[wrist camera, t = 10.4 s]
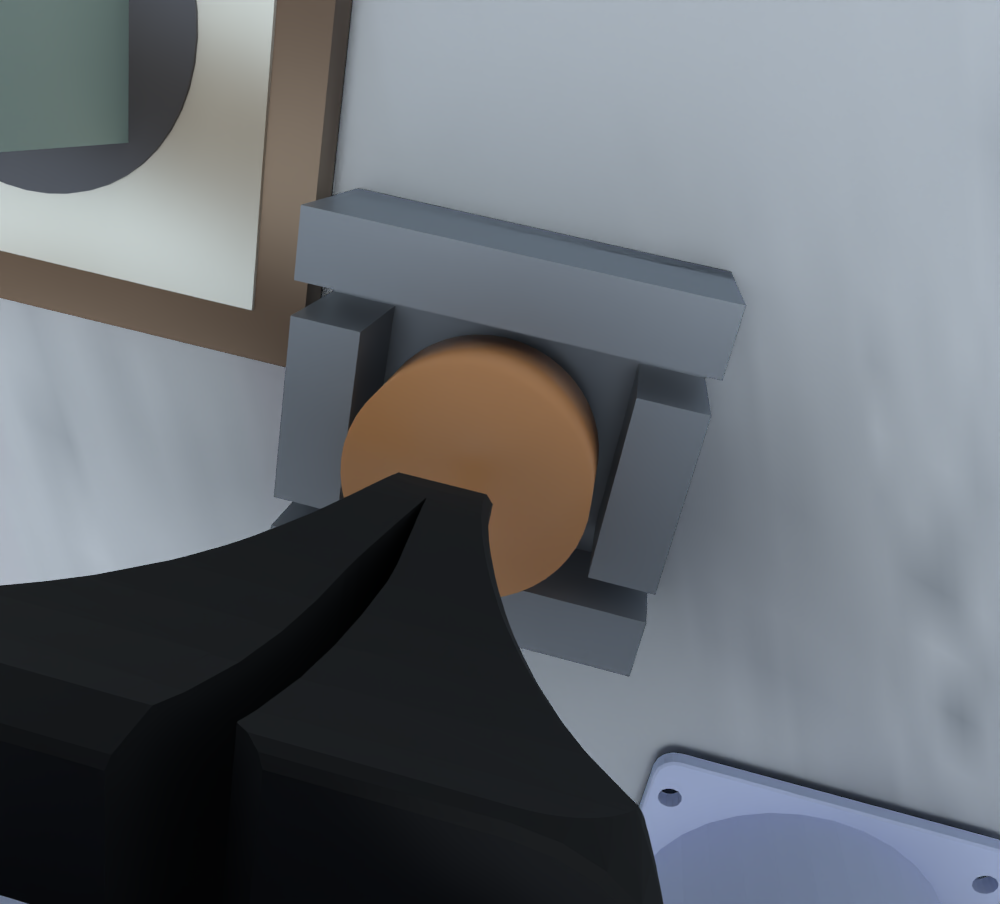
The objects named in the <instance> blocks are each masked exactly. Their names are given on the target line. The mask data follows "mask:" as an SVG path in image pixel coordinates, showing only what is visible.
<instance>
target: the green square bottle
mask: <svg viewBox="0 0 1000 904" xmlns="http://www.w3.org/2000/svg"><path fill="white" fill-rule="evenodd" d="M128 84H129V0H0V152H10V151H24V150H37V149H51V148H64V147H78V146H91V145H105V144H118V143H128Z"/></svg>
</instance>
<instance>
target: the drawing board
mask: <svg viewBox="0 0 1000 904" xmlns="http://www.w3.org/2000/svg"><path fill="white" fill-rule="evenodd" d="M351 7H352V0H129V84H128V143H118V144H105V145H91V146H78V147H64V148H51V149H37V150H24V151H10V152H0V298H3V299H7V300H11V301H16V302H20V303H24V304H28V305H32V306H36V307H40V308H44V309H48V310H52V311H57V312H61V313H65V314H69V315H73V316H77V317H81V318H85V319H89V320H94V321H98V322H102V323H106V324H110V325H114V326H118V327H122V328H126V329H131V330H135V331H139V332H143V333H147V334H151V335H155V336H159V337H163V338H167V339H172V340H176V341H180V342H184V343H188V344H192V345H196V346H200V347H204V348H209V349H213V350H217V351H221V352H225V353H229V354H233V355H237V356H241V357H246V358H250V359H254V360H258V361H262V362H266V363H270V364H274V365H278V366H282V367H286V361H287V350H288V339H289V328H290V317H291V315H293V314H294V313H296V312H298V311H300V310H301V309H303V308H305V307H307V306H308V305H310V304H312V303H313V302H315V301H317V300H319V299H320V298H321V289H322V286H317V285H313V284H309V283H305V282H300V281H296V280H294V274H295V263H296V253H297V242H298V231H299V220H300V209H301V205H302V204H305V203H309V202H312V201H316V200H319V199H323V198H326V197H330V196H331V195H332V185H333V176H334V167H335V157H336V148H337V138H338V129H339V120H340V110H341V101H342V91H343V82H344V72H345V63H346V54H347V44H348V35H349V25H350V16H351Z"/></svg>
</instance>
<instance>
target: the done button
mask: <svg viewBox="0 0 1000 904" xmlns="http://www.w3.org/2000/svg"><path fill="white" fill-rule="evenodd" d="M598 458H599V441H598V431H597V427H596V423H595V419H594V416H593V413H592V411H591V408H590V405H589V403H588V401H587V399H586V398H585V396H584V394H583V392H582V390H581V389H580V388H579V386H578V385H577V384H576V382H575V381H574V380H573V378H572V377H571V376H570V375H569V374H568V373H567V372H566V371H565V370H564V369H563V368H562V367H561V366H560V365H559V364H557V363H556V362H555V361H554V360H552V359H551V358H550V357H548V356H547V355H545V354H544V353H542V352H540V351H539V350H537V349H535V348H533V347H531V346H529V345H526V344H524V343H522V342H519V341H515V340H512V339H509V338H505V337H499V336H493V335H465V336H458V337H453V338H449V339H445V340H442V341H440V342H437V343H435V344H432V345H430V346H428V347H426V348H425V349H423V350H421V351H419V352H418V353H416V354H415V355H414V356H412V357H411V358H410V359H408V360H407V361H406V362H405V363H404V364H403V365H402V366H401V367H400V368H399V369H398V370H397V371H396V372H395V373H394V374H393V375H392V376H391V378H390V379H389V380H388V381H387V382H386V383H385V384H384V385H383V386H382V387H381V388H380V389H379V390H378V391H377V392H376V393H375V394H374V395H373V396H372V397H371V398H370V399H369V400H368V401H367V402H366V403H365V404H364V406H363V407H362V409H361V410H360V411H359V413H358V414H357V415H356V417H355V419H354V421H353V423H352V425H351V426H350V428H349V431H348V434H347V436H346V439H345V442H344V446H343V451H342V456H341V471H340V474H341V486H342V491H343V496H344V498H345V497H347V496H349V495H351V494H353V493H355V492H357V491H359V490H361V489H363V488H365V487H367V486H370V485H372V484H374V483H376V482H378V481H380V480H382V479H384V478H386V477H388V476H391V475H393V474H396V473H398V472H400V473H404V474H408V475H412V476H416V477H420V478H424V479H428V480H432V481H436V482H440V483H444V484H448V485H452V486H456V487H460V488H464V489H468V490H472V491H476V492H480V493H484V494H487V496H488V497H489V499H490V500H491V502H492V504H493V506H492V511H491V516H490V520H489V525H488V530H489V544H490V552H491V557H492V563H493V568H494V573H495V578H496V582H497V586H498V590H499V593H500V597H503V596H507V595H511V594H514V593H518V592H521V591H523V590H525V589H528V588H530V587H533V586H534V585H536V584H538V583H540V582H541V581H543V580H545V579H546V578H548V577H549V576H550V575H551V574H553V573H554V572H555V571H556V570H558V569H559V568H560V567H561V566H562V565H563V563H564V562H565V561H566V560H567V559H568V558H569V557H570V555H571V554H572V552H573V551H574V550H575V548H576V547H577V545H578V543H579V541H580V539H581V537H582V535H583V533H584V530H585V527H586V524H587V522H588V518H589V512H590V507H591V501H592V495H593V489H594V483H595V477H596V471H597V465H598Z"/></svg>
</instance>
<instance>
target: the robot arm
mask: <svg viewBox="0 0 1000 904" xmlns="http://www.w3.org/2000/svg"><path fill="white" fill-rule="evenodd" d="M492 506H493V504H492V502H491V500H490V499H489V497H488V496H487V494H484V493H480V492H476V491H472V490H468V489H464V488H460V487H456V486H452V485H448V484H444V483H440V482H436V481H432V480H428V479H424V478H420V477H416V476H412V475H408V474H404V473H400V472H398V473H396V474H393V475H391V476H388V477H386V478H384V479H382V480H380V481H378V482H376V483H374V484H372V485H370V486H367V487H365V488H363V489H361V490H359V491H357V492H355V493H353V494H351V495H349V496H347V497H345V498H343V499H340V500H338V501H336V502H334V503H332V504H330V505H328V506H325V507H323V508H321V509H319V510H317V511H315V512H312V513H310V514H308V515H305V516H303V517H300V518H298V519H295V520H293V521H290V522H288V523H285V524H283V525H280V526H278V527H275V528H273V529H270V530H268V531H265V532H262V533H260V534H257V535H255V536H252V537H249V538H246V539H243V540H240V541H237V542H234V543H231V544H228V545H225V546H222V547H218V548H215V549H211V550H207V551H204V552H200V553H196V554H193V555H189V556H186V557H182V558H177V559H173V560H169V561H164V562H159V563H154V564H149V565H143V566H138V567H133V568H128V569H123V570H118V571H113V572H107V573H102V574H97V575H90V576H83V577H75V578H68V579H60V580H52V581H44V582H33V583H23V584H13V585H2V586H0V904H999V902H1000V840H999V839H995V838H991V837H987V836H984V835H980V834H976V833H973V832H969V831H965V830H962V829H958V828H954V827H951V826H947V825H943V824H940V823H936V822H932V821H929V820H925V819H921V818H917V817H914V816H910V815H906V814H903V813H899V812H895V811H892V810H888V809H884V808H881V807H877V806H873V805H870V804H866V803H862V802H859V801H855V800H851V799H848V798H844V797H840V796H836V795H833V794H829V793H825V792H822V791H818V790H814V789H811V788H807V787H803V786H800V785H796V784H792V783H789V782H785V781H781V780H778V779H774V778H770V777H766V776H763V775H759V774H755V773H752V772H748V771H744V770H741V769H737V768H733V767H730V766H726V765H722V764H719V763H715V762H711V761H708V760H704V759H700V758H696V757H693V756H689V755H685V754H682V753H673V752H672V753H667V754H664V755H662V756H661V757H659V758H658V759H657V760H656V762H655V763H654V765H653V768H652V771H651V774H650V777H649V780H648V782H647V785H646V788H645V791H644V794H643V797H642V800H641V803H640V805H639V806H638V805H637V804H636V803H635V802H634V801H633V800H632V799H631V798H630V797H629V796H628V795H627V794H626V793H625V792H624V791H623V790H622V789H621V788H620V787H619V786H618V785H617V784H616V783H615V782H614V781H613V780H612V779H611V778H610V777H609V776H608V775H607V774H606V773H605V772H604V771H603V770H602V769H601V768H600V767H599V766H598V765H597V764H596V762H595V761H594V760H593V759H592V758H591V757H590V756H589V755H588V754H587V753H586V752H585V751H584V749H583V748H582V747H581V746H580V744H579V743H578V742H577V741H576V739H575V738H574V737H573V736H572V734H571V733H570V732H569V731H568V729H567V728H566V727H565V726H564V724H563V723H562V721H561V720H560V718H559V717H558V715H557V714H556V712H555V711H554V709H553V707H552V706H551V704H550V703H549V701H548V700H547V698H546V697H545V695H544V694H543V692H542V690H541V689H540V687H539V686H538V684H537V682H536V680H535V678H534V677H533V675H532V673H531V671H530V669H529V667H528V665H527V663H526V661H525V659H524V657H523V655H522V653H521V650H520V648H519V646H518V644H517V641H516V639H515V637H514V635H513V632H512V629H511V627H510V624H509V621H508V619H507V616H506V613H505V610H504V607H503V603H502V600H501V597H500V593H499V590H498V586H497V582H496V578H495V573H494V568H493V563H492V557H491V552H490V544H489V530H488V525H489V520H490V516H491V511H492ZM664 789H674V790H676V791H678V792H676V793H674V794H667V793H665V792H663V791H661V790H664ZM981 876H988V877H985V878H982V879H977V877H981Z"/></svg>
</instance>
